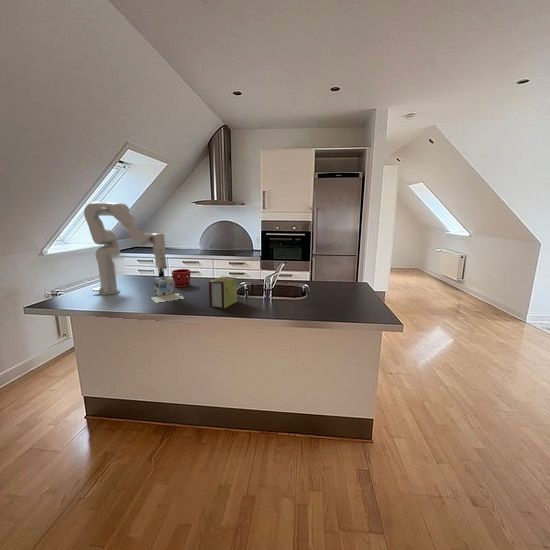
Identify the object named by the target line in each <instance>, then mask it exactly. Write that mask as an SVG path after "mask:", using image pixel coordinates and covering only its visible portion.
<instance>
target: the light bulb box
mask: <svg viewBox="0 0 550 550" xmlns="http://www.w3.org/2000/svg"><path fill="white" fill-rule="evenodd" d="M153 279H154V282H153V294H155V295H156V296H163V295H170V294H174V293H173V292H174V284H175V283H174V279H173V277H171V276H169V275H166V276H165V275H164V277H159V276H158V277H155V278H153Z"/></svg>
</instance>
